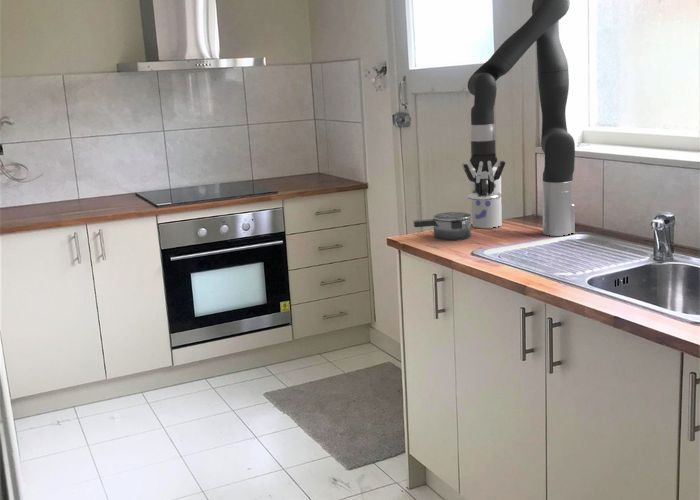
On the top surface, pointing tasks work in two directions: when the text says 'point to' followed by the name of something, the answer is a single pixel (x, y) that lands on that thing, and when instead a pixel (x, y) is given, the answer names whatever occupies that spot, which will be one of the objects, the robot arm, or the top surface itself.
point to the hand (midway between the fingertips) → (484, 193)
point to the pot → (448, 225)
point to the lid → (484, 192)
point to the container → (487, 206)
